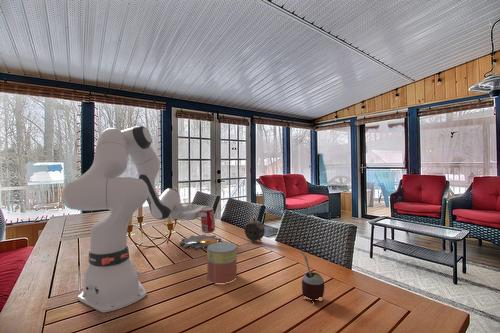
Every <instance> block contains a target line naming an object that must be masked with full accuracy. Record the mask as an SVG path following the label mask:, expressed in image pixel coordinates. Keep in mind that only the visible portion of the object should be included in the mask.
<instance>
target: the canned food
mask: <svg viewBox="0 0 500 333" xmlns="http://www.w3.org/2000/svg"><path fill="white" fill-rule="evenodd" d="M237 249H238V248H237V245H236V244H235V243H233V242H230V241H229V242H227V241H219V242H217V243H213V244H210V245H209V246H208V247H207V248H206V250H207V254H206V255H207V260H206V261H207V268H206V269H207V270H206V271H207V273H206V274H207V276H206V277H207V278H208V280H209V281H210V282H213V283H226V282H230V281H232V280H234V279H235V278H236V276H237V269H238V268H237V263H238V262H237V260H238V259H237V255H238V254H237ZM207 278H206V279H207ZM236 279H237V278H236ZM208 280H207V281H208ZM209 281H208V282H209ZM210 282H209V283H210Z"/></svg>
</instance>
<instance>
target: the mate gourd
mask: <svg viewBox="0 0 500 333" xmlns="http://www.w3.org/2000/svg"><path fill="white" fill-rule="evenodd" d="M299 252H300V253H301V254H302V255H303V257H304V261H305V263H306V266H307V270H308V272H306V273H305V274H304V275H303V276H302V279H301V291H302V292H301V293H302V295H303V296H302V297H304V296H306V297H308V298H310V299H312V300H313V302H314V300H315V299H318V298H319V297H322V298H324V297H323V296H324V294H325V280H324V278H323V276H322V275H321V274H320V273H318V272H314V271H313V272H311V267H310V264H309V262H308V257H307V256H306V254H305V253H304V252H303V251H302V249H301V248H300V249H299Z"/></svg>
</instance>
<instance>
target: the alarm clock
mask: <svg viewBox="0 0 500 333" xmlns="http://www.w3.org/2000/svg"><path fill="white" fill-rule="evenodd" d="M254 214H255V217H253V215H254ZM250 217H251V218H252V219H253V220H250V221H248V222H247V223H246V224H245V226H244V234H245V236H246V238H247V240H248V239H249V241H253V242H257V241H259V242H260V241H261V242H262V240H261V239H262V238H264V235H265V230H266V229H265V226H264V225H263V223H262V222H261V221H260V220H257V218H258V214H257V213H255V212H253V213H252V214H251V216H250Z"/></svg>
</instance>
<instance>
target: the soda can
mask: <svg viewBox="0 0 500 333" xmlns="http://www.w3.org/2000/svg"><path fill="white" fill-rule="evenodd" d="M201 213H207V215H208V216H206V217H200V221H201V222H200V224H201V231H202V232H203V233H204V234H212V233H213V232H215V230H216V225H215V224H216V223H215V210H214V207H212V206H208V207H203V208H202V209H201Z"/></svg>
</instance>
